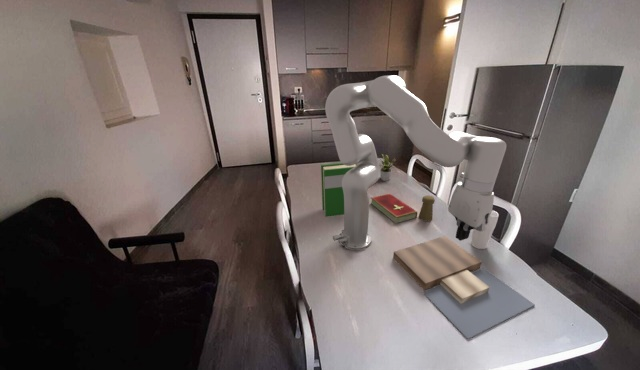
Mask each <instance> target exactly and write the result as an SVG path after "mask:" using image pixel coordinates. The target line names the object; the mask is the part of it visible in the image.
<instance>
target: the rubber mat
mask: <svg viewBox="0 0 640 370" xmlns="http://www.w3.org/2000/svg"><path fill="white" fill-rule="evenodd" d="M471 273H472V274H473V275H475V276H476V277H477V278H478V279H480V280H481V281H482V282H484V283H485V284H486V285H487V286H489V287H490V288H489V291H488V292H487V293H485V294H482V295H480V296H478V297H475V298H473V299H471V300H468V301H466V302H464V303H460V302H459V301H457V300H456V299H455V298H454V297H453V296H452V295H451V294H450V293H449V292H448V291H447V290H446V289H445V288H444V287H443V286H441V285H440V284H439V285H437V286H434V287H432V288H429V289H427V290H423V292H422V293H423V295H424V296H426V297H427V299H428V300H430V302H431V303H432V304H433V305H434V306H435V307H436V308H437V309H438V310H439V311H440V312H441V313H442V314H443V316H444V317H446V319H447V320H448V321H449V322H450V323H451V324H452V325H453V326H454V327H455V328H456V329H457V330H458V332H459V333H461V335H463V337H464V338H465V339H466V340H469V339H472V338H473V337H475V336H477V335H480V334H481V333H483V332H486V331H487V330H489V329H491V328H493V327H495V326H497V325H499V324H501V323H504V322H505V321H507V320H509V319H511V318H513V317H514V316H517V315H519V314H521V313H523V312H525V311H527V310H529V309H530V308H533V307H535V304H534V303H533V301H532V302H531V301H530V300H529V299H528V298H527V297H525V296H524V295H522V294H521V293H520V292H518V291H516V289H513V288H512V287H511V286H510V285H508V284H507V283H505V282H504V281H502V280H501V279H500V278H499V277H497V276H495V274H493V273H492V272H490V271H488V269H486V268H484V267H483V268H480V269H478V270H475V271H473V272H471Z"/></svg>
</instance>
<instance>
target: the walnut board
mask: <svg viewBox="0 0 640 370" xmlns="http://www.w3.org/2000/svg"><path fill="white" fill-rule="evenodd" d="M392 259H393V261H395V262H396V263H397V264H398V265H399V266H400V267H401V268H402V269H403V270H404V271H405V273H407V274H408V276H410V277H411V278H412V280H413V281H414V282H415V283H416V284H417V285H418V286H419V287H420V288H421V289H422V290H423V291H426V290H429V289H431V288H434V287H436V286H439V285H440V281H441V279H443V278H446V277H448V276H451V275H454V274H456V273H459V272H462V271H464V270H468V271H469V272H471V273H472V272H474V271H477V270H479V269H481V265H482V262H483V261H481V260H480V259H478V257H476V256H474V255H473V254H471V253H470V252H469V251H467V250H466V249H464V248H463V247H461V246H460V245H458V244H457V243H456V242H454V241H453V240H451V239H450V238H448V237H447V236H446V235H443V236H440V237H435V238H433V239H430V240H428V241H423V242H420V243H418V244H415V245H412V246H408V247H405V248H402V249H398V250H397V251H393V255H392Z"/></svg>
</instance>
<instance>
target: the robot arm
mask: <svg viewBox="0 0 640 370" xmlns="http://www.w3.org/2000/svg"><path fill="white" fill-rule="evenodd" d="M324 106H325V110H324V111H325V116H326V118H327V121H328V124H329V127H330V129H331V133H332V138H333V141H334V144H335V149H336V152H337V156H338V158H339V161H340V163H343V164H344V165H346V166H351V165H354V164H356V166H355V167H354V168H352V169H351V170H349V171H348V172H347V173H346V174H345V175H344V177H343V179H342V188H343V193H344V214H343V229H342V230H341V232H340V233H339V234H336V235H333V236H332V239H333V240H332V241H338V243H339V244H341V245H342V246H343V247H345V248H347V249H349V250H355V251H357V250H358V251H360V250H361V251H362V250H364V249H367V248H368V247H369V246H370V245H371V244H372V243H371V242H372V237H371V235H370V233H369V216H370V215H369V214H370V198H369V195H368V194H369V193H368V190H369V189H370V188H371V187H372V186H373V185H375V184H376V183H377V182H378V181H379V179H380V178H381V172H380V169H381V168H380V167H381V166H379V165H380V163H379V158H378V155H377V151H376V147H375V144H374V142H373V140H372V138H370V137H369V136H368V135H367V134H364V133H359V134H358V130H357V126H356V123H355V120H354V119H353V117H352V116H351V114H350V113H351V112H353V111H357V110H361V109H365V108H370V107H371V108H372V107H377V108H378V109H379V110H381V112H382V113H384V114H385V115H386V116H388V117H389V118H391V119H392V120H393V121H394V122H395V123H397V125H399V126H400V127H401V128H402V129H403V131H404V132H405V134H406V136H407V137H408V138H409V140H410V142H412V144H413V145H414V146H415V147H416V149H418V150H419V152H421V153H422V154H423V155H425V156H426V157H427V158H428V159H429V160H431V161H432V162H434V163H435V164H436V165H438V166H441V167H443V168H453V167H456V166H459V165H460V164H461V163H462V162H463V161H465V160H466V163H465V167H464V170H463V171H464V172H461V173H460V174H459V177H460V178H461V182H458V183H457V185H456V187H455V189H454V190H453V193H452V195H451V199H450V200H449V204H448V208H447V209H448V212H449V214H451V215H452V216H453V217H454V218H455V221H456V226H457V228H456V231H455V232H456V233H455V238H456V239H457V240H459V241H460V242H461V241H464V240H467V239H468V238H469V236H470V233H471V230H473V229H475V230H478V231H484V230H485V224H487V223H488V221H489V219H490V216H491V212H492V210H493V208H494V199H495V192H494V191H493V190H494V187H495V183H496V181H497V177H498V174H499V172H500V168H501V165H502V162H503V159H504V156H505V153H506V150H507V143H506V141H504V140H502V139H500V138H497V137H492V136H491V137H490V136H477V135H474V134H470V133H467V132H462V131H453V132H450V133H446V132H445V131H444V130H442V129H441V128H440V127H439V126H438V125H437V124H436V123H435V122H434V121H433V120H432V119H431V117H430V115H429V112H428V109H427V106H426V104H425V103H424V102H423V101H422V99H420V98H419V97H417V96H415V94H413V93H411V92H410V91H409V90H408V89H407V87H406V83H405V81H404V80H403V79H402V78H401V76H399V75H395V74H393V75H392V74H391V75H382V76H379V77H376V78H375V79H372V80H368V81H362V82H354V83H345V84H341V85H338V86H337V87H335V88H334V89H332V90H331V91H330V93H329V94H328V96H327V98H326V99H325V105H324Z"/></svg>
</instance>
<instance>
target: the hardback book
mask: <svg viewBox="0 0 640 370" xmlns="http://www.w3.org/2000/svg"><path fill="white" fill-rule="evenodd" d="M355 166H356V164H354V165H351V166H346V165H344V164H343V163H342V162H338V163H328V164H320V172H321V173H320V178H321V200H322V203H321V204H322V205H321V206H322V207H321V208H322V211H324V217H327V218H328V217H334V216H344V193H343V188H342V179H343V177H344V175H345V174H346V173H347V172H348V171H349V170H351V169H352V168H354V167H355Z"/></svg>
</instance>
